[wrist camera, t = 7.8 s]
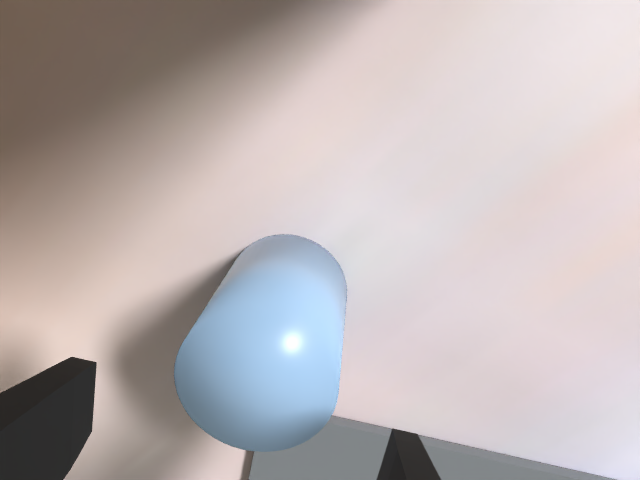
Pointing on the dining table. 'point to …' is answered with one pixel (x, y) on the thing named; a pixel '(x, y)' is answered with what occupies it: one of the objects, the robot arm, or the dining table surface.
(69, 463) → the robot arm
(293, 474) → the letter board
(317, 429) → the blue capsule
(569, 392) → the dining table surface
